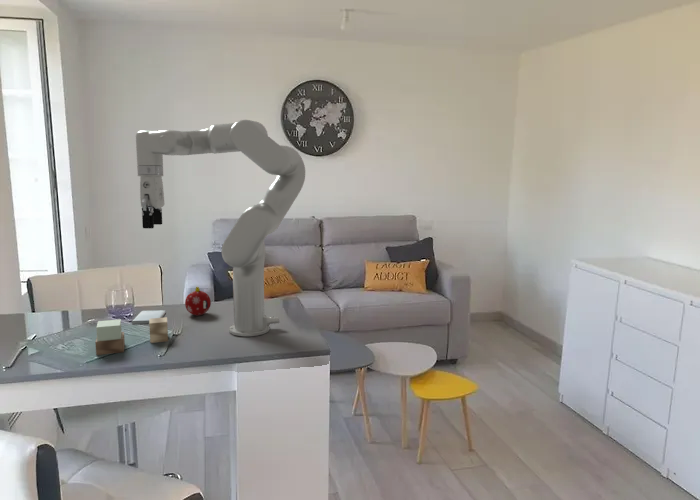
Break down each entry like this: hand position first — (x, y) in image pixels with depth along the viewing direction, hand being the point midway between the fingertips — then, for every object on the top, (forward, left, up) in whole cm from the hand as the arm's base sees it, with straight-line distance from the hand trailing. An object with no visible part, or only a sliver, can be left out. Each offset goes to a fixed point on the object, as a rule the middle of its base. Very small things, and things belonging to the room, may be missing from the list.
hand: (152, 226), depth 172 cm
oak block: (0, +15, -33) cm, 36 cm away
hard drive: (+3, -9, -33) cm, 35 cm away
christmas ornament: (-13, -8, -33) cm, 36 cm away
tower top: (+13, +20, -29) cm, 37 cm away
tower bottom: (+13, +20, -33) cm, 40 cm away
